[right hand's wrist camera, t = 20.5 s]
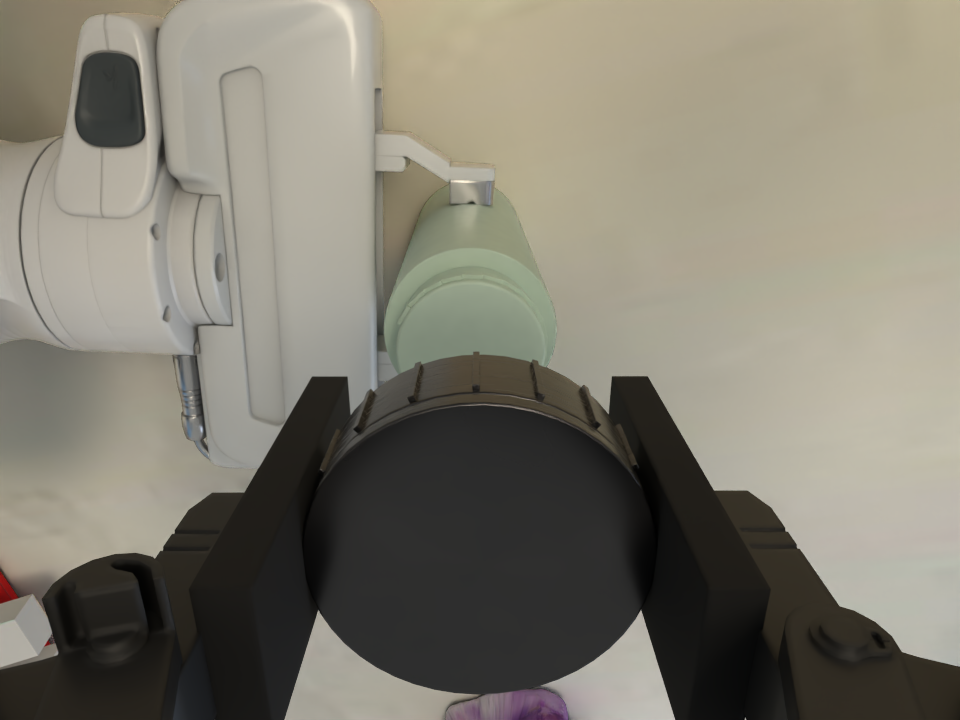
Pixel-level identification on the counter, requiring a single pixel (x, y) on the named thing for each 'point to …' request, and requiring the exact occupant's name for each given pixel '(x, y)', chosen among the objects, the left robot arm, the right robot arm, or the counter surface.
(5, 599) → the toy
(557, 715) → the figurine
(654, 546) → the lid
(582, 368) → the counter surface
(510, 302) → the pale green tall cylinder
